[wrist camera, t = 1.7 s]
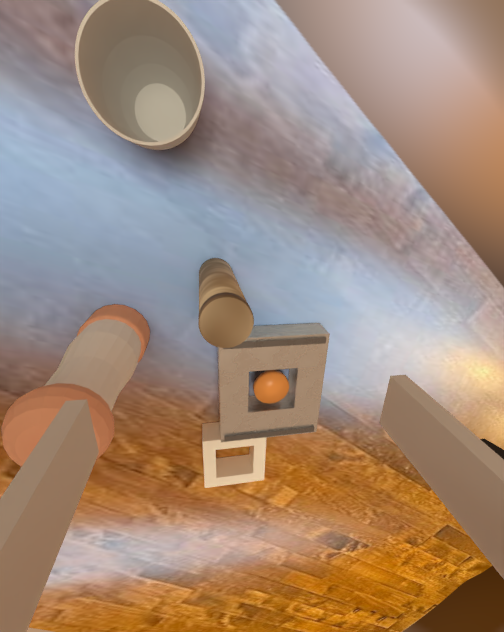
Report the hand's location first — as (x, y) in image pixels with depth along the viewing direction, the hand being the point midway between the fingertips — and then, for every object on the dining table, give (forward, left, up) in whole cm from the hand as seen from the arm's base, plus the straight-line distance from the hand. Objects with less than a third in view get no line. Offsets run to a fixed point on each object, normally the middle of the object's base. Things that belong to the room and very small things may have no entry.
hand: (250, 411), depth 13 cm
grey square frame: (+7, -15, -25) cm, 29 cm away
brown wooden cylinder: (0, 0, -25) cm, 25 cm away
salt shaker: (-12, -7, -25) cm, 28 cm away
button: (+7, -15, -22) cm, 28 cm away
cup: (-5, +16, -25) cm, 30 cm away
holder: (+2, -27, -25) cm, 36 cm away
